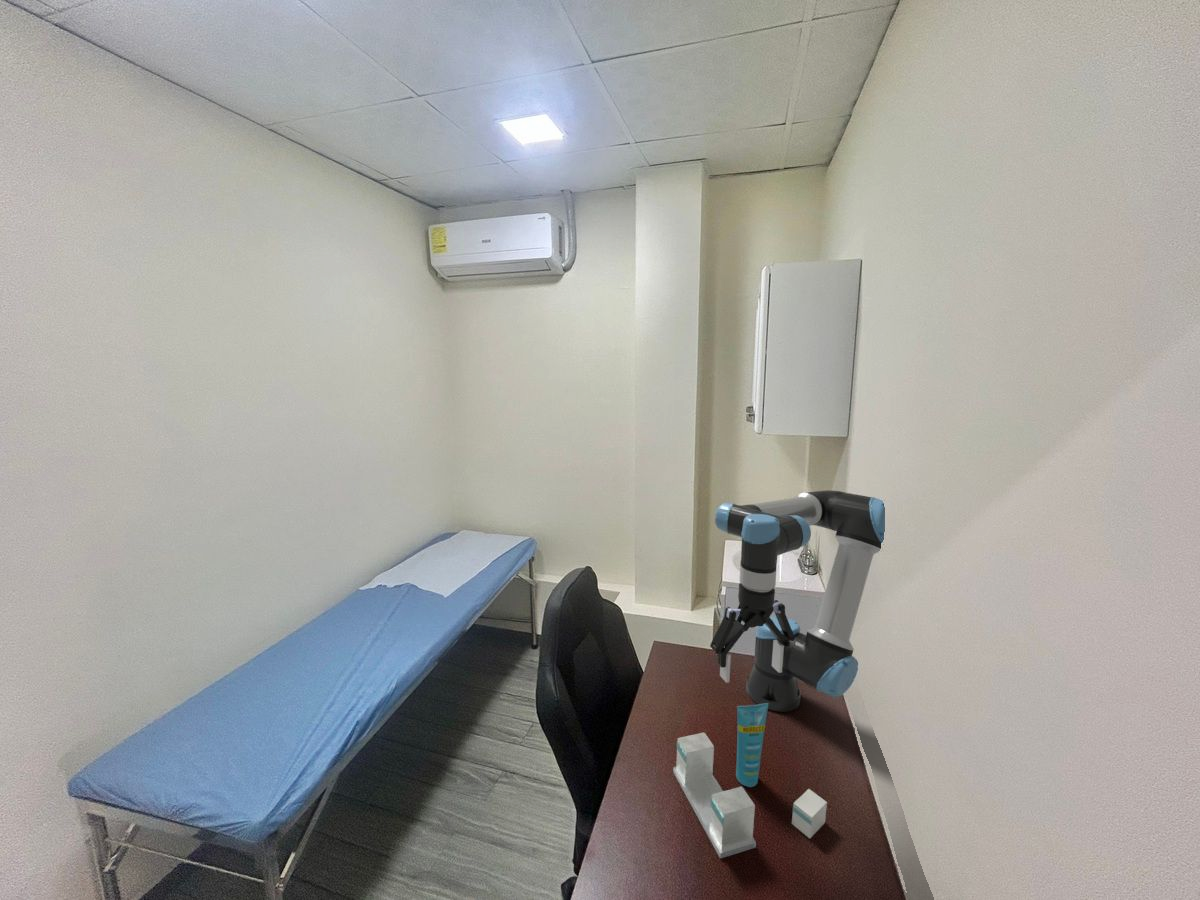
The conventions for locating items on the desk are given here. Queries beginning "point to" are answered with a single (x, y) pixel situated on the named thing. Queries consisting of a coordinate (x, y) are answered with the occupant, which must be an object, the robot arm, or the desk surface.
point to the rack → (714, 798)
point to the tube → (750, 742)
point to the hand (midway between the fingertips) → (751, 674)
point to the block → (809, 813)
